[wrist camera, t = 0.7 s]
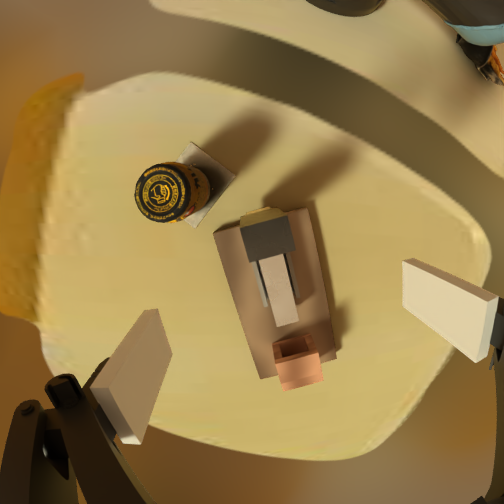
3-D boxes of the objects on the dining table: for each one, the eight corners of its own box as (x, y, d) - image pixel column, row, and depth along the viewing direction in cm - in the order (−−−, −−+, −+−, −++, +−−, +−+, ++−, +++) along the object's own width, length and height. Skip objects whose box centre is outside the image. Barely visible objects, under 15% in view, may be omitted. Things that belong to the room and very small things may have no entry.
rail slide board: (305, 207, 36) (317, 212, 29) (334, 353, 41) (346, 378, 35) (214, 231, 36) (207, 242, 30) (259, 373, 42) (262, 401, 35)
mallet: (273, 205, 33) (287, 215, 23) (299, 310, 36) (318, 355, 26) (240, 213, 33) (239, 228, 23) (270, 318, 37) (279, 366, 26)
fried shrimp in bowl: (461, 9, 23) (536, 60, 19) (447, 48, 33) (515, 91, 30) (468, 25, 21) (549, 85, 17) (449, 69, 32) (523, 118, 28)
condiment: (152, 195, 35) (112, 201, 23) (191, 142, 33) (165, 123, 22) (195, 228, 36) (172, 250, 24) (236, 175, 35) (231, 172, 23)
